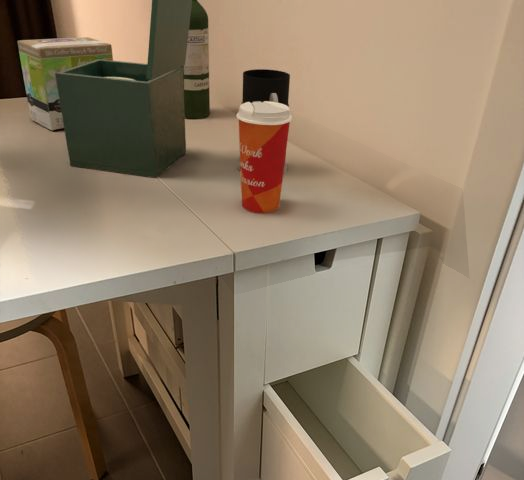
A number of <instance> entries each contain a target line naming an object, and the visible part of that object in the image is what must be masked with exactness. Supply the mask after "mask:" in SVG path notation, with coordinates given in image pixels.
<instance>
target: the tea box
mask: <svg viewBox="0 0 524 480" xmlns="http://www.w3.org/2000/svg"><path fill="white" fill-rule="evenodd" d="M17 47H18V55H19V59H20V60H19V61H20V65H21V71H22V76H23V83H24V87H25V94H26V99H27V105H28V106H27V107H28V110H29V116H30V120H32V121H34V122H35V123H37V124H38V125H40V126H42V127H44V128H45V129H48V130H50V131H52V132H53V131H56V130H60V129H61V130H62V129H64V124H63V118H62V112H61V106H60V100H59V94H58V88H57V82H56V76H55V73H57V72H60V71H63V70H67V69H70V68H73V67H76V66H79V65H82V64H85V63H88V62H91V61H94V60H97V59H102V60H112V61H114V57H113V47H112V44H111V43H109V42H105V41H101V40H98V39H95V38H92V37H89V36H85V37H83V36H82V37H63V38H62V37H61V38H42V39H41V38H40V39H21V40H17Z"/></svg>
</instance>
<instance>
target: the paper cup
mask: <svg viewBox="0 0 524 480" xmlns="http://www.w3.org/2000/svg"><path fill="white" fill-rule="evenodd" d="M235 116H236V119H238V138H239V139H238V141H239V142H238V143H239V162H240V171H239V172H240V192H241V193H240V194H241V205H242V208H243V209H244V210H246V211H248V212H251V213H255V214H256V213H257V214H267V213H273V212H275V211H277V210H278V209H279V208H280V203H281V195H282V187H283V179H284V174H285V173H284V165H285V161H286V160H285V156H286V157H287V147H288V140H289V131H290V122H292V121H293V116H292V114H291V109H290V106H289V107H288V106H286V105H284V104H281V103H277V102H269V101H264V102H261V101H258V102H253V103H250V102H246V103H243V104H239V108H238V112H237V113H236V115H235ZM283 173H284V174H283Z"/></svg>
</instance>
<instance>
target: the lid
mask: <svg viewBox="0 0 524 480" xmlns="http://www.w3.org/2000/svg"><path fill="white" fill-rule="evenodd" d="M191 7H192V0H151V10H150V22H149V23H150V25H149V38H148V51H147V63H146V64H147V77H146V79H149V80H153V79H155V78H157V77H159V76H162V75H164V74H166V73H168V72H170V71H173V70H175V69H177V68H179V67H181V66H184V65H185V60H186V51H187V42H188V33H189V24H190V15H191Z"/></svg>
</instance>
